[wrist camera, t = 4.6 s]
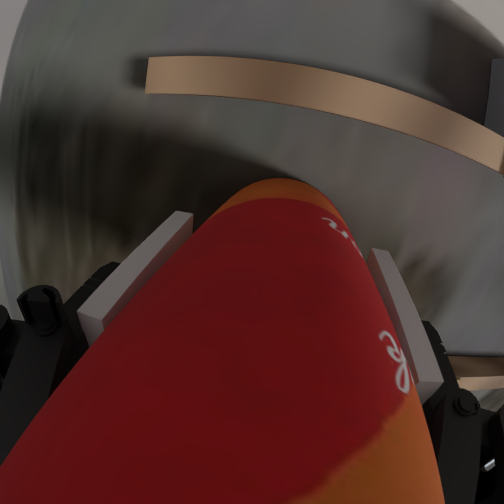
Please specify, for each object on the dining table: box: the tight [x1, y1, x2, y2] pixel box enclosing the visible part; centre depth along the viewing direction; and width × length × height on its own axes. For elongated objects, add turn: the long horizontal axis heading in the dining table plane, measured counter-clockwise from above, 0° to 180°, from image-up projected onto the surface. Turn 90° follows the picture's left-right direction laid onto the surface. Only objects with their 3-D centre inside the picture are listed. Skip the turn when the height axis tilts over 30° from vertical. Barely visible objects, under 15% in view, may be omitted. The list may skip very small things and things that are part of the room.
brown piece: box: [145, 56, 504, 391], centre depth 12 cm, size 36×15×2 cm, turn 83°
